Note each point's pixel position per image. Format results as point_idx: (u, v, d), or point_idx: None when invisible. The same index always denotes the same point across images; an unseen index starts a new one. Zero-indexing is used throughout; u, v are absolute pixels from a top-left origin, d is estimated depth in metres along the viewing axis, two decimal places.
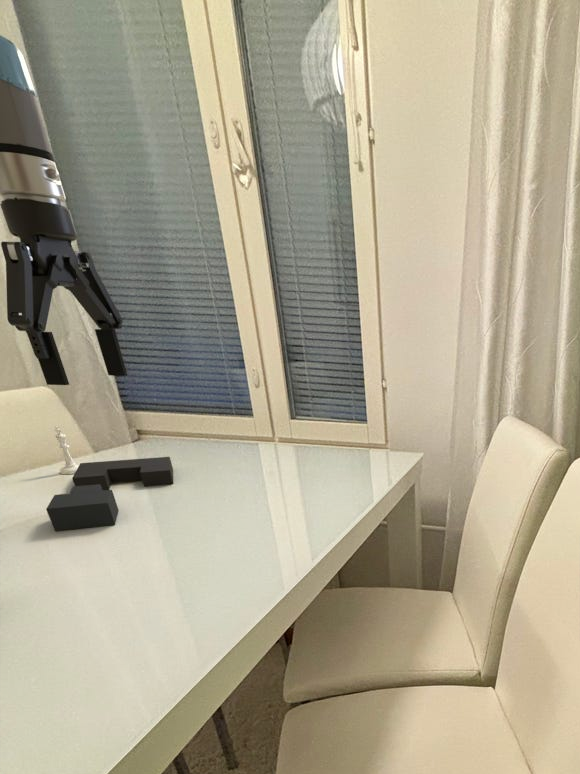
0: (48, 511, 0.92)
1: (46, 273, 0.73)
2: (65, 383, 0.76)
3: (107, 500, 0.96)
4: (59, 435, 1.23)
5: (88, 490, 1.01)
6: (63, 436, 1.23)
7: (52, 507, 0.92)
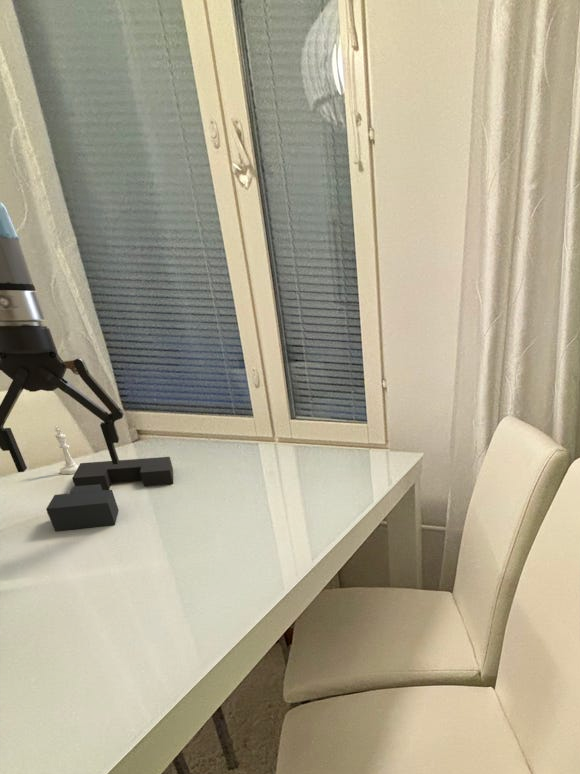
0: (48, 511, 0.92)
1: None
2: (18, 471, 0.90)
3: (107, 500, 0.96)
4: (59, 435, 1.23)
5: (88, 490, 1.01)
6: (63, 436, 1.23)
7: (52, 507, 0.92)
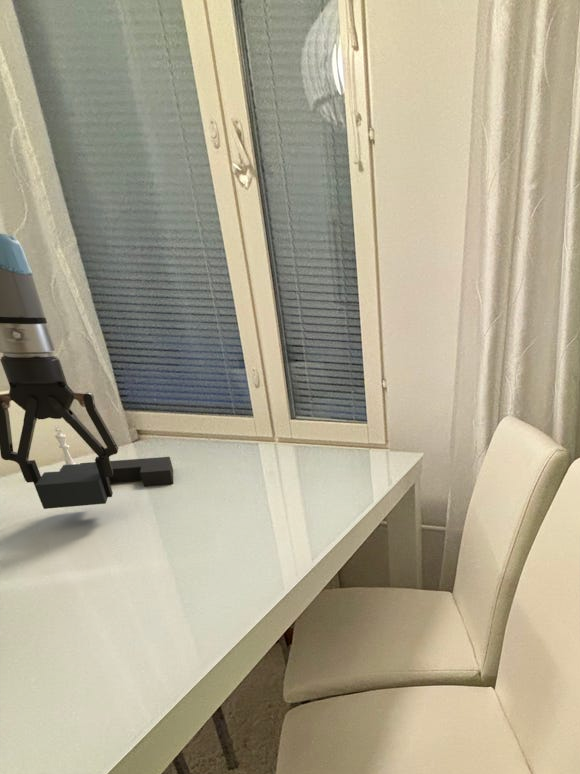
0: (37, 488, 0.90)
1: (25, 410, 0.88)
2: None
3: (98, 478, 0.94)
4: (59, 435, 1.23)
5: (79, 468, 0.99)
6: (63, 436, 1.23)
7: (41, 484, 0.90)
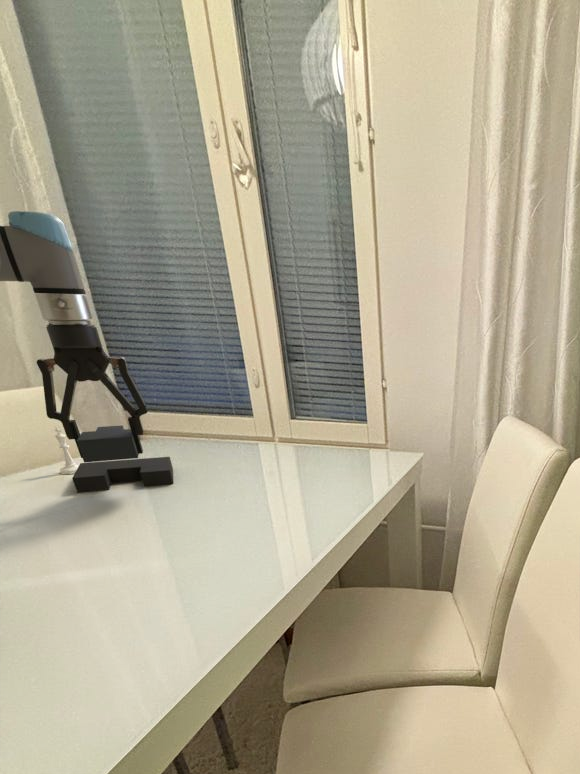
0: (78, 443, 1.01)
1: (67, 373, 0.99)
2: (81, 457, 1.05)
3: (131, 435, 1.06)
4: (59, 435, 1.23)
5: (112, 429, 1.11)
6: (63, 436, 1.23)
7: (82, 439, 1.02)
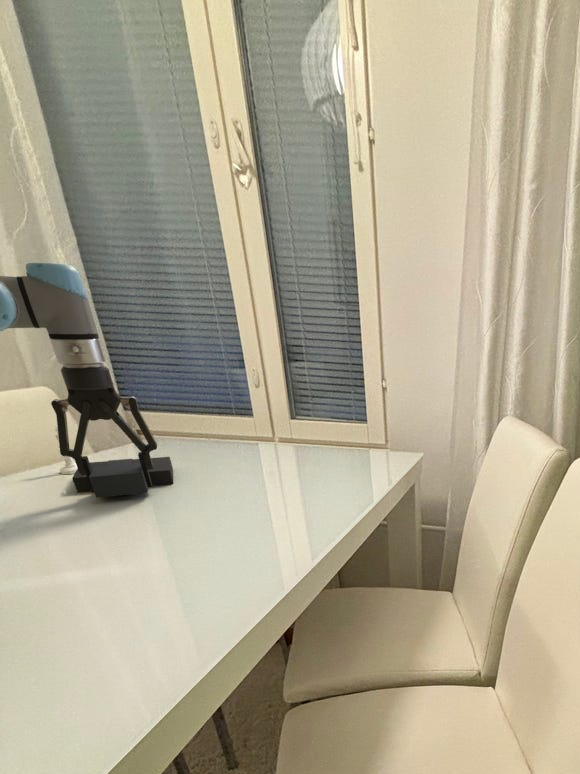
0: (90, 479, 1.05)
1: (80, 413, 1.03)
2: (92, 491, 1.09)
3: (141, 470, 1.09)
4: None
5: (122, 463, 1.14)
6: None
7: (94, 476, 1.05)
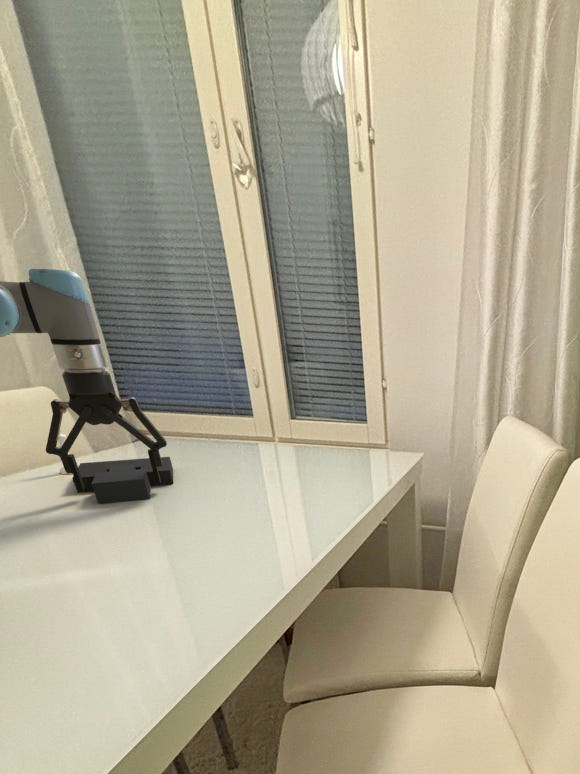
0: (93, 485, 1.06)
1: None
2: None
3: (143, 477, 1.10)
4: (59, 435, 1.23)
5: (124, 469, 1.15)
6: (63, 436, 1.23)
7: (96, 482, 1.06)
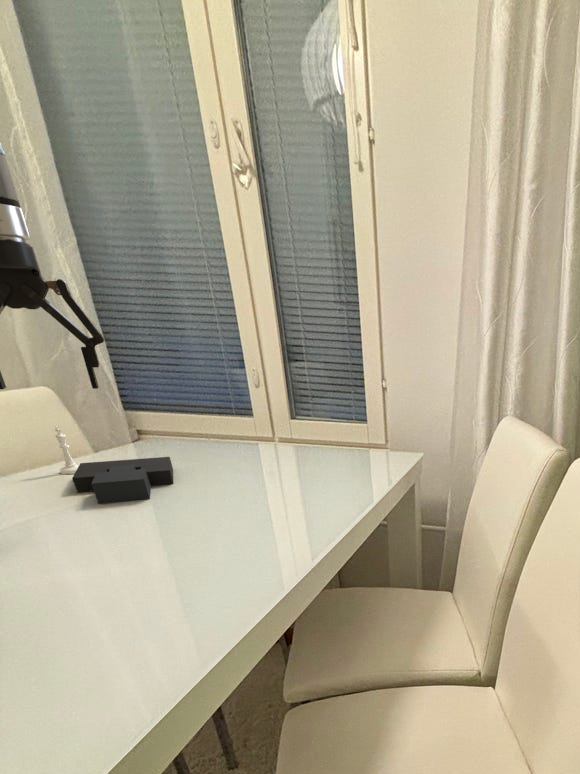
0: (93, 485, 1.06)
1: None
2: None
3: (143, 477, 1.10)
4: (59, 435, 1.23)
5: (124, 469, 1.15)
6: (63, 436, 1.23)
7: (96, 482, 1.06)
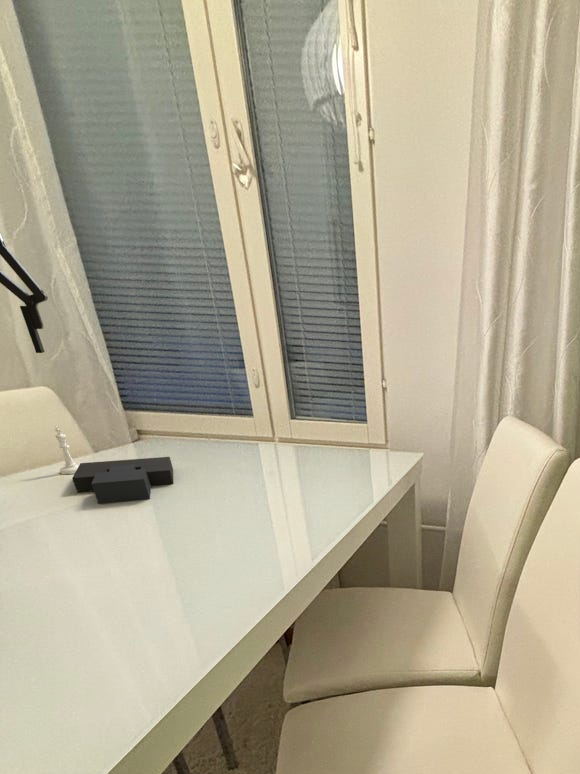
0: (93, 485, 1.06)
1: None
2: None
3: (143, 477, 1.10)
4: (59, 435, 1.23)
5: (124, 469, 1.15)
6: (63, 436, 1.23)
7: (96, 482, 1.06)
